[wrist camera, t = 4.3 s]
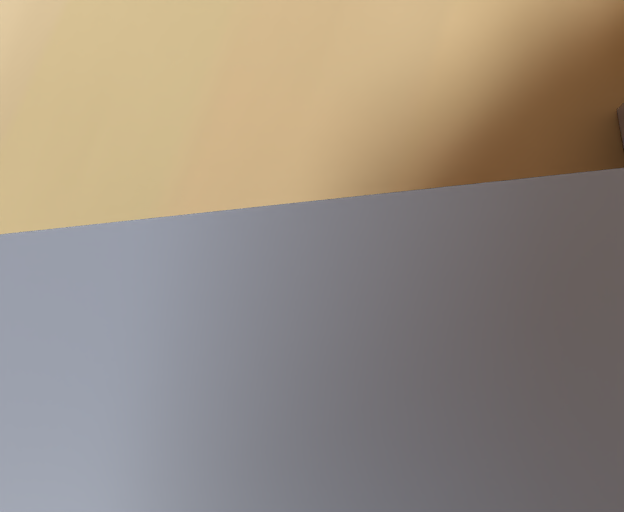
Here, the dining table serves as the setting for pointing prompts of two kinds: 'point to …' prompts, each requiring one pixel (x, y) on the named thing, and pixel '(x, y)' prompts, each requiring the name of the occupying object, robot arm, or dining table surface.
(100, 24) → the dining table surface
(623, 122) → the wooden frame
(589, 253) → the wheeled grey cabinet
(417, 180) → the dining table surface
